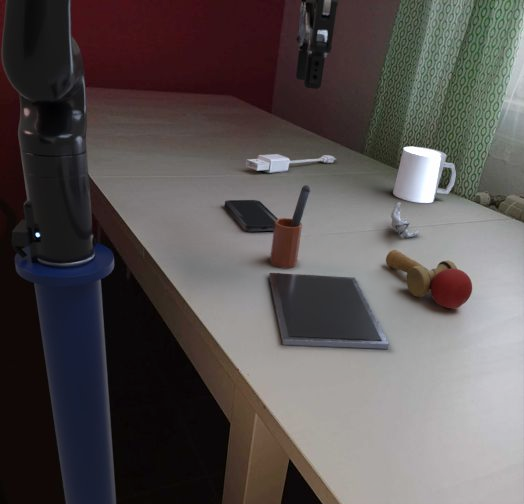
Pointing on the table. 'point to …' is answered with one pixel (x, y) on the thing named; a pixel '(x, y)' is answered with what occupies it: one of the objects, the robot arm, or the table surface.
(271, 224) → the phone
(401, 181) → the mug
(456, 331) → the table surface
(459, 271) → the kendama
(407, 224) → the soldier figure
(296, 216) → the stylus
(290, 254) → the pen cup
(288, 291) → the tablet
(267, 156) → the charging cable
